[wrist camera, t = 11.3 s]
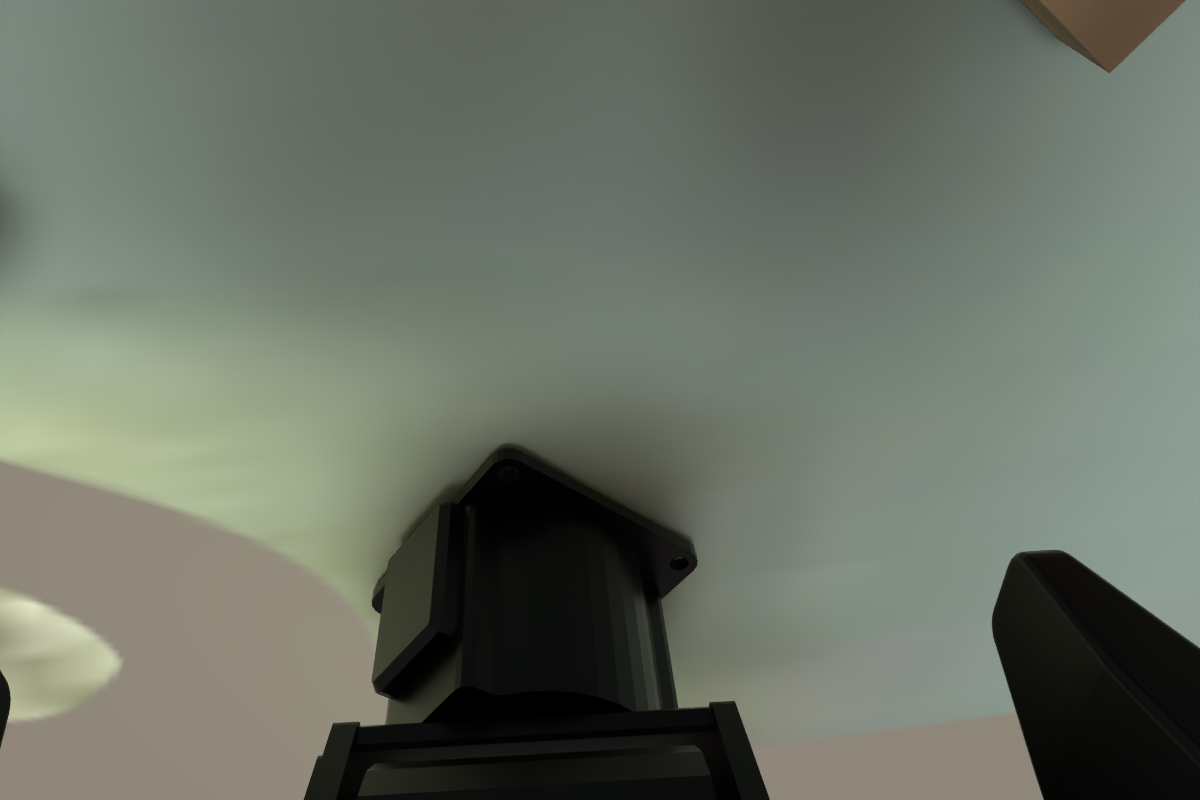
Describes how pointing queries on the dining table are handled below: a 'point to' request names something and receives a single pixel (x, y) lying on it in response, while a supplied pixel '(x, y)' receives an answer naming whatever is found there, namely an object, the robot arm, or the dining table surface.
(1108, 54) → the plate
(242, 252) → the dining table surface
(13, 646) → the dining table surface
